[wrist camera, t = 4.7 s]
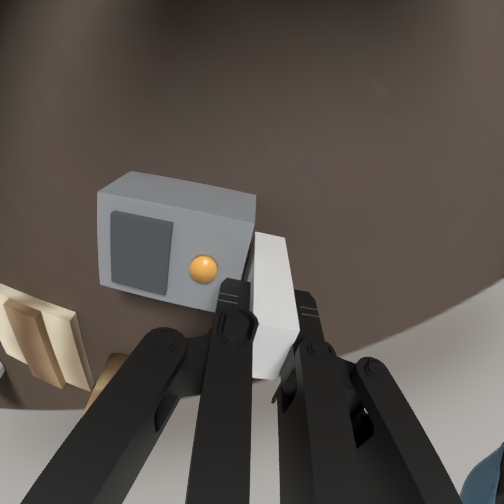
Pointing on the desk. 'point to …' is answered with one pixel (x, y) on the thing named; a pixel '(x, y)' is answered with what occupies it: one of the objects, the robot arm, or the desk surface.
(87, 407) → the peg
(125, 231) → the box
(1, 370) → the white cup
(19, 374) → the desk surface
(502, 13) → the desk surface
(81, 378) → the panel
